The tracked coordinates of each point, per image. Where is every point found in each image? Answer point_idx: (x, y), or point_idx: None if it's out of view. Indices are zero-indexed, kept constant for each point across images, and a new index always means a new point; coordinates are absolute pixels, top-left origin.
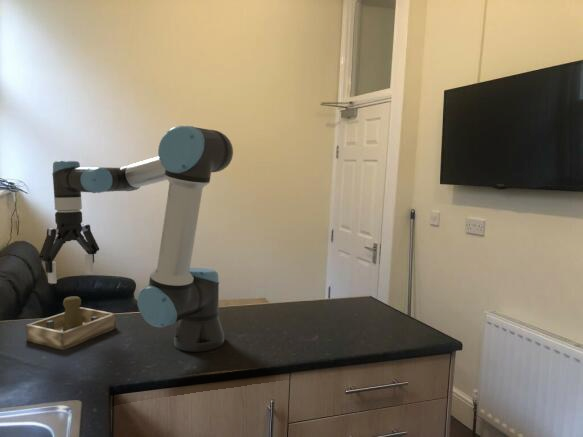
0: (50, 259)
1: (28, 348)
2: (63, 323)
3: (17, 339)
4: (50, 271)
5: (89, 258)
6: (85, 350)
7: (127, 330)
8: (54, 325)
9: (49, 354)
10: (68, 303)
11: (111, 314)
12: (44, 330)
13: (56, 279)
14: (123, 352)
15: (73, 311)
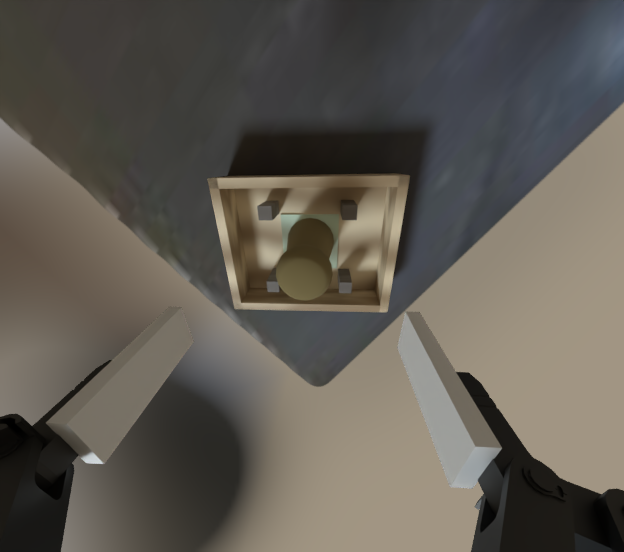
0: (563, 496)
1: (411, 255)
2: None
3: None
4: (465, 380)
5: (110, 398)
6: (379, 112)
7: (217, 128)
8: None
9: (428, 181)
10: (328, 264)
11: (220, 184)
12: (396, 250)
13: (413, 324)
14: None
15: (317, 245)
